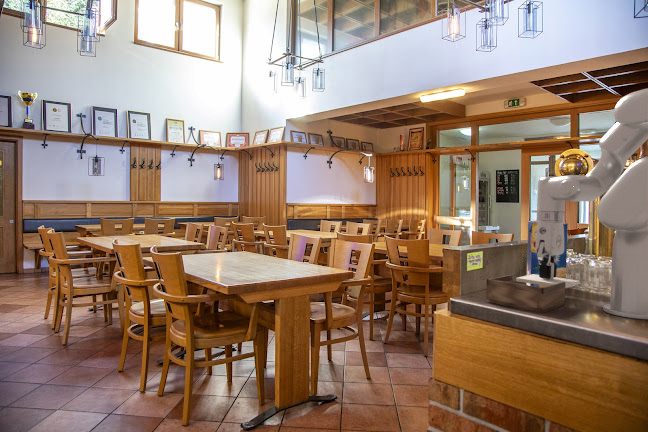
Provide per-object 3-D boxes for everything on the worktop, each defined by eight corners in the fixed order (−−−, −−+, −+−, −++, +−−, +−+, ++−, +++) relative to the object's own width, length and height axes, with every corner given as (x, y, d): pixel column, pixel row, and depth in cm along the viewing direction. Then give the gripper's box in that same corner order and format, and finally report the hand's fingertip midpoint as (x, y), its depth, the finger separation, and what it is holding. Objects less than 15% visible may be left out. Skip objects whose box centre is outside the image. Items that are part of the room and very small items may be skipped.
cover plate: (579, 283, 138) (580, 264, 137) (563, 288, 130) (564, 267, 129) (533, 277, 148) (533, 258, 148) (515, 281, 140) (516, 261, 140)
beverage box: (565, 289, 151) (568, 223, 151) (530, 287, 154) (532, 222, 153) (559, 285, 158) (562, 222, 157) (526, 284, 161) (528, 221, 160)
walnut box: (564, 305, 128) (565, 282, 127) (542, 312, 118) (543, 288, 118) (509, 295, 140) (510, 274, 139) (486, 301, 130) (486, 279, 130)
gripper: (551, 218, 130) (548, 282, 131) (574, 217, 141) (571, 276, 141) (525, 217, 136) (523, 278, 136) (549, 216, 146) (546, 273, 147)
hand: (547, 276), depth 139 cm, fingers closed on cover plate, 3 cm apart
